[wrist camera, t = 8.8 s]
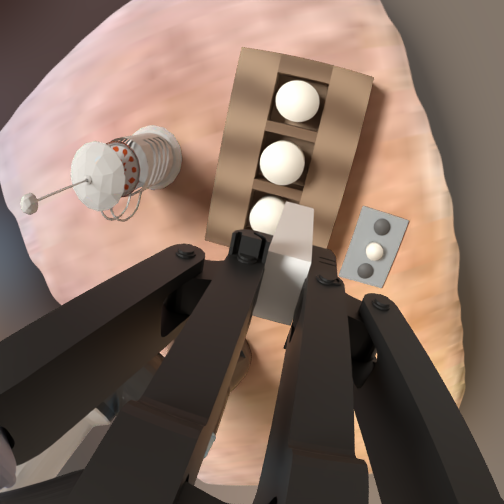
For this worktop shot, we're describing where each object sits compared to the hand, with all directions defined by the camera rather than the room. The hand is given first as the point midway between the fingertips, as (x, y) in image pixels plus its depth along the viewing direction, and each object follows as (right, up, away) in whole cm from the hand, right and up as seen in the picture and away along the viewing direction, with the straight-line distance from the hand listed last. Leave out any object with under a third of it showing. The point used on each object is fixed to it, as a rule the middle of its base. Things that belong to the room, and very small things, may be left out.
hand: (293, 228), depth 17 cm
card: (+15, -1, +26) cm, 30 cm away
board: (+2, +11, +24) cm, 26 cm away
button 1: (+1, +4, +26) cm, 26 cm away
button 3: (+4, +17, +19) cm, 26 cm away
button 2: (+2, +10, +21) cm, 24 cm away
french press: (-17, +12, +28) cm, 35 cm away
